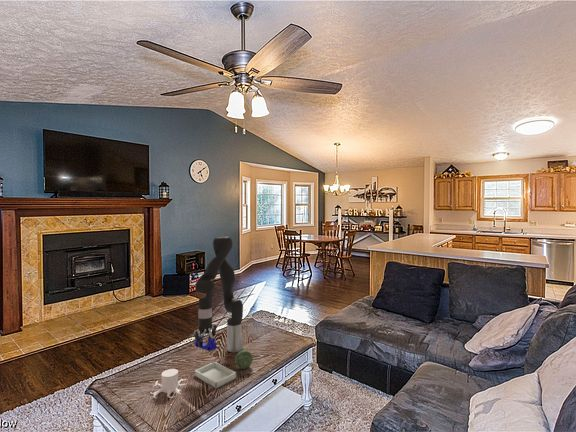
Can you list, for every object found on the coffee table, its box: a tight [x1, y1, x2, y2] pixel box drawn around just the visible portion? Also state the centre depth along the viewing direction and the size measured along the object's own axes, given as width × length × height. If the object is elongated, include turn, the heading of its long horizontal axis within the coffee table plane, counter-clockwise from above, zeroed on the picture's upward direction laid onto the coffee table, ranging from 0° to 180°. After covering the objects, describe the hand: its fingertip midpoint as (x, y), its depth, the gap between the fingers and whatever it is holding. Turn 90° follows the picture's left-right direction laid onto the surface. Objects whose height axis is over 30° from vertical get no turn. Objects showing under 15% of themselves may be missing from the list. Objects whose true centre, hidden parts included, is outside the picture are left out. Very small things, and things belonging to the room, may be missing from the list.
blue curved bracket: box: [194, 334, 217, 352], centre depth 177 cm, size 12×4×6 cm, turn 58°
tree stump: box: [149, 368, 188, 399], centre depth 163 cm, size 20×19×8 cm
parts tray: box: [194, 361, 238, 389], centre depth 173 cm, size 14×20×3 cm
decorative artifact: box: [234, 349, 254, 370], centre depth 181 cm, size 10×7×10 cm
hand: (205, 345), depth 177 cm, fingers closed on blue curved bracket, 5 cm apart
